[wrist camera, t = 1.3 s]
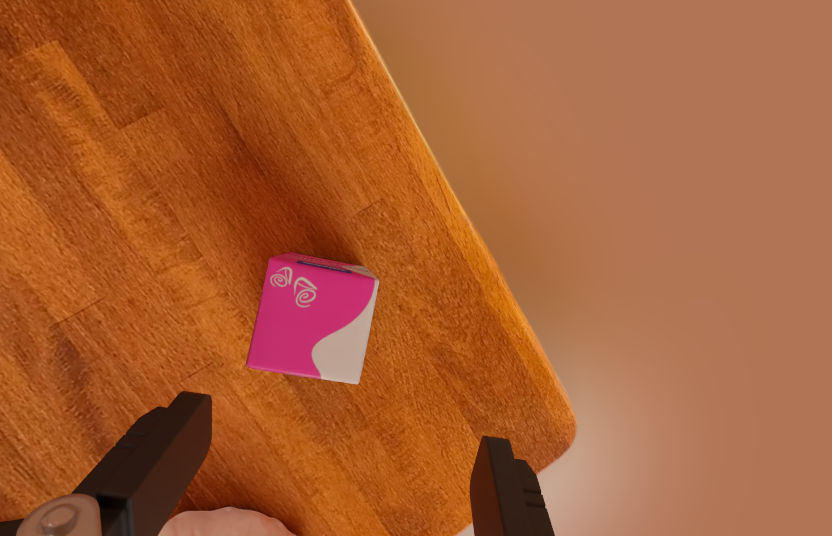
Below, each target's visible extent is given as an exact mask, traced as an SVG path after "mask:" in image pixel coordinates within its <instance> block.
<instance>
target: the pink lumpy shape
mask: <svg viewBox="0 0 832 536" xmlns="http://www.w3.org/2000/svg"><path fill="white" fill-rule="evenodd" d="M158 536H296V535H295V534H293V533H291V532H290V531H288V530H287V528H286V527H285V526H284V525H283V524H282V522H280V521H279V520H278V519H276V518H271V517H268V516H266V515H264V514H262V513H260V512H257V511H253V510H244V509H237V508H235V507H224V508H221V509H217V510H213V511H185V512H182V513H180V514H178V515H176V516H175V517H173V518H172V519H170V520H169V521H168V522H167V523H166V524H165V525H164V527H163V528H162V530H161V532H160V533H159V535H158Z"/></svg>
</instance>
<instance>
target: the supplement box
mask: <svg viewBox="0 0 832 536" xmlns="http://www.w3.org/2000/svg"><path fill="white" fill-rule="evenodd" d="M378 285H379V279H377V278H376V277H375V276H374V275H373V274H372V273H371V272H370V271H369V270H368V269H367V268H365V267H364V266H359V265H352V264H347V263H342V262H337V261H332V260H327V259H322V258H317V257H312V256H307V255H303V254H299V253H295V252H289V253H285V254H282V255H278V256H275V257H270V258H269V262H268V267H267V271H266V276H265V280H264V285H263V289H262V294H261V298H260V303H259V307H258V312H257V316H256V320H255V325H254V330H253V334H252V338H251V343H250V347H249V352H248V357H247V361H246V366H247V367H249V368H253V369H259V370H265V371H271V372H277V373H284V374H289V375H296V376H303V377H310V378H316V379H323V380H331V381H338V382H344V383H351V384H358V383H359V381H360V376H361V372H362V367H363V362H364V357H365V352H366V347H367V342H368V337H369V332H370V327H371V321H372V316H373V311H374V306H375V300H376V295H377V290H378Z"/></svg>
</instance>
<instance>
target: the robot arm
mask: <svg viewBox="0 0 832 536" xmlns="http://www.w3.org/2000/svg"><path fill="white" fill-rule="evenodd" d="M211 437H212V399H211V396H210V395H208V394H201V393H194V392H187V391H182V392H181V393H179V395H178V396H177V397H176V398H175V399H174V400H173V402H172V403H171V404H170V405H169V406H168V408H165V407H156V408H155V409H153V410H151V411H150V412H148V413H146V414H145V415H143V416H142V417H140V418H139V419H138V420H137V421H136V422H135V423H134V424H133V425H132V427H131V428H130V429H129V430H128V431H127V432H126V435H123V437H122V438H121V439H120V440H119V441H118V442H117V443H116V446H115V447H113V448H112V449H111V450H110V451H109V452H108V453H107V454H106V455H105V457H104V458H103V459H102V460H101V461H100V462H99V463H98V464H97V465H96V467H95V468H94V469H93V470H92V471H91V472H90V473H89V474H88V475H87V477H86V478H85V479H84V480H83V481H82V482H81V483H80V484H79V485H78V487H77V488H76V489H75V490H74V491H73V492H72V493H71V494H69V495H64V496H60V497H57V498H54V499H52V500H50V501H48V502H46V503H44V504H42V505H40V506H39V507H37V508H36V509H35V510H33V511H32V512H31V513H30V514H29V515H28V516H27V517H26V518H24V519H19V520H12V521H5V522H0V536H158V535H159V533H160V532H161V530H162V528H163V527H164V525H165V523H166V522H167V520H168V518H169V517H170V515H171V514H172V512H173V510H174V509H175V507H176V505H177V504H178V502H179V500H180V499H181V497H182V496H183V494H184V492H185V491H186V489H187V487H188V486H189V484H190V482H191V481H192V479H193V478H194V476H195V474H196V473H197V471H198V469H199V468H200V466H201V465H202V463H203V461H204V460H205V458H206V456H207V453H208V450H209V447H210V443H211ZM470 502H471V510H472V518H473V526H474V535H475V536H555V535H554V531H553V528H552V525H551V522H550V518H549V515H548V512H547V509H546V508H545V502H544V499H543V495H541V489H540V486H539V482H538V479H537V476H536V474H535V473H534V472H533V470H532V469H531V468H530V466H529V465H528V464H527V462H526V461H525V460H519V459H514V456H513V452H512V448H511V444H510V441H509V440H508V439H503V438H496V437H489V436H483V437H482V439H481V442H480V446H479V449H478V453H477V456H476V460H475V464H474V467H473V471H472V475H471V480H470Z"/></svg>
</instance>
